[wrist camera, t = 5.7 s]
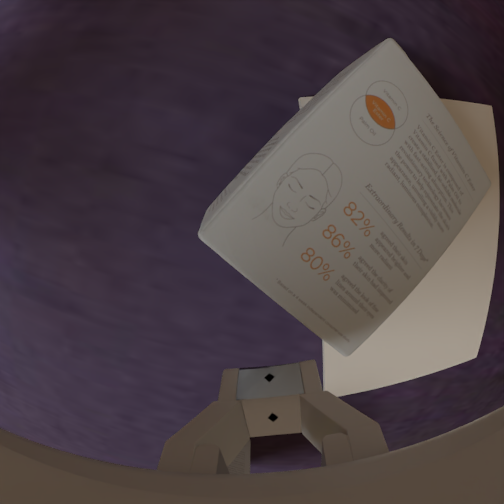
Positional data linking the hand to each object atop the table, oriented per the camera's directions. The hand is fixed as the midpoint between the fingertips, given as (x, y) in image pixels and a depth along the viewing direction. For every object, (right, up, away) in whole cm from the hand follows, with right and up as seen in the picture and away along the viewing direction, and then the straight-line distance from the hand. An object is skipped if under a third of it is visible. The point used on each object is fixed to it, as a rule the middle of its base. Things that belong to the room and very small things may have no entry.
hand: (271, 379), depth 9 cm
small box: (0, +3, +4) cm, 5 cm away
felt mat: (+10, +4, +8) cm, 13 cm away
